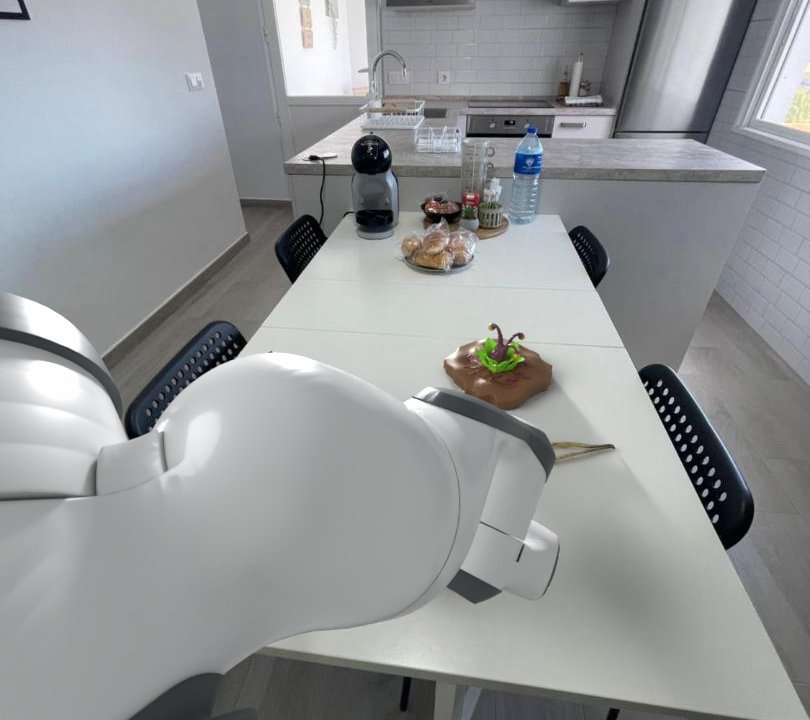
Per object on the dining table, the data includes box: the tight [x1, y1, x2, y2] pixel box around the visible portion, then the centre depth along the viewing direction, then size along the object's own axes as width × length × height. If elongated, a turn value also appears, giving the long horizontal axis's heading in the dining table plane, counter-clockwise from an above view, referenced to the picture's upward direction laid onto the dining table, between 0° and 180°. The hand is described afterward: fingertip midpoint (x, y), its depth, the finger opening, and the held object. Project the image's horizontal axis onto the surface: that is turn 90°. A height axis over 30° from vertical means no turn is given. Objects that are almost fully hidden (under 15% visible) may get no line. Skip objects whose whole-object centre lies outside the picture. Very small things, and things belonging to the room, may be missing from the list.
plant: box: [443, 322, 553, 411], centre depth 88 cm, size 20×20×11 cm
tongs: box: [550, 441, 616, 461], centre depth 74 cm, size 4×13×2 cm, turn 100°
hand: (337, 465), depth 62 cm, fingers open, 8 cm apart
